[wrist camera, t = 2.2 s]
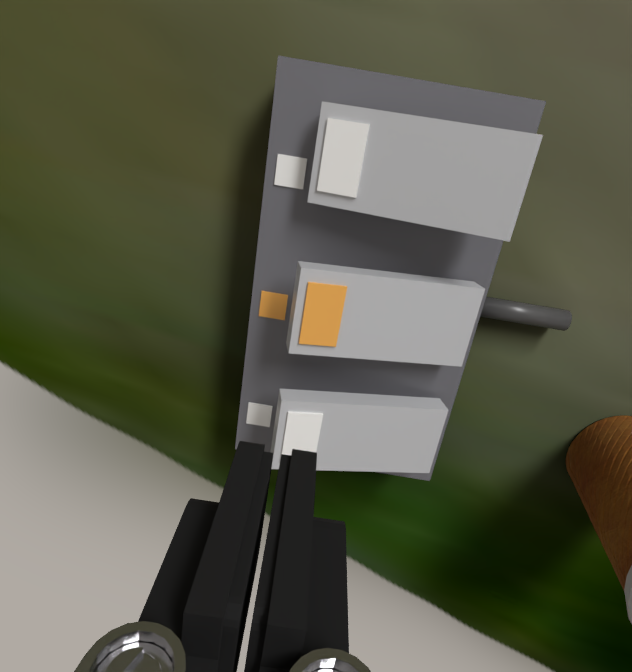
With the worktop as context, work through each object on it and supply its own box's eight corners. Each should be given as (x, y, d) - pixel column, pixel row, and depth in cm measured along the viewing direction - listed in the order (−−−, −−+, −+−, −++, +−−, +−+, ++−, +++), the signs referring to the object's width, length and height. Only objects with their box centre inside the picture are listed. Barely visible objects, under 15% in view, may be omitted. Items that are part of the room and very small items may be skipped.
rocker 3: (439, 398, 26) (449, 411, 25) (421, 459, 28) (430, 474, 27) (279, 388, 24) (281, 402, 23) (270, 454, 26) (271, 470, 25)
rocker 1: (537, 136, 19) (543, 134, 18) (506, 237, 21) (510, 241, 20) (328, 104, 21) (321, 101, 20) (314, 200, 23) (306, 202, 21)
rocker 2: (474, 281, 24) (486, 289, 23) (452, 356, 25) (462, 367, 24) (297, 260, 22) (301, 268, 21) (286, 342, 24) (288, 354, 22)
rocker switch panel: (628, 127, 25) (680, 124, 21) (505, 456, 32) (527, 498, 29) (288, 69, 24) (277, 55, 21) (247, 414, 32) (234, 449, 29)
